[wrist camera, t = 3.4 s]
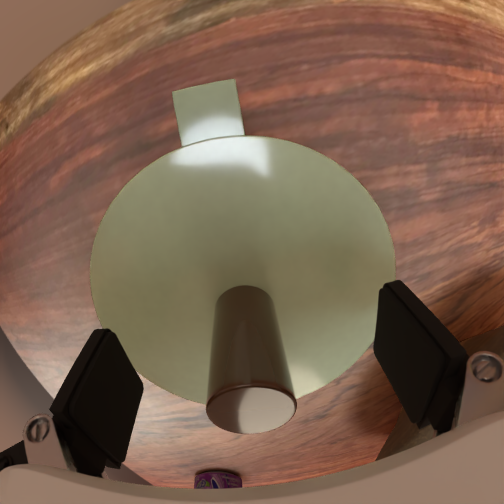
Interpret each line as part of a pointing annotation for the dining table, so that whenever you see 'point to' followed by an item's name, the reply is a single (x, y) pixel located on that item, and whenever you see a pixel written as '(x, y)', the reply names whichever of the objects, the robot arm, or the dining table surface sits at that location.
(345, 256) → the lid
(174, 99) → the pot
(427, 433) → the bowl
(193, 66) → the dining table surface
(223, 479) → the beverage can
